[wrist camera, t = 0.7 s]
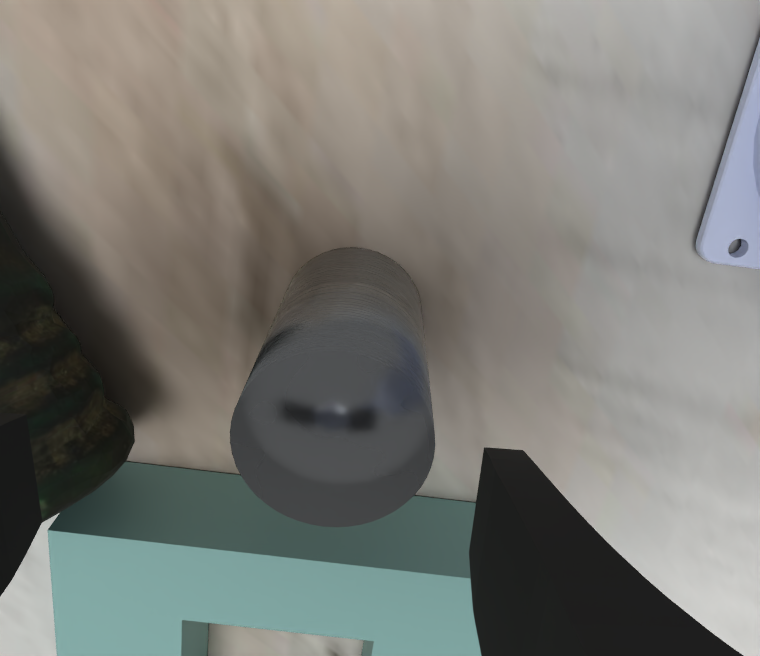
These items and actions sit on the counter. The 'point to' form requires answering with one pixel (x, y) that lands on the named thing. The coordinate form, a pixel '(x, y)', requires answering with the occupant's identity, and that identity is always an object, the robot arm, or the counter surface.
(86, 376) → the tool
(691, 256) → the counter surface
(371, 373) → the pin
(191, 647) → the hole block
